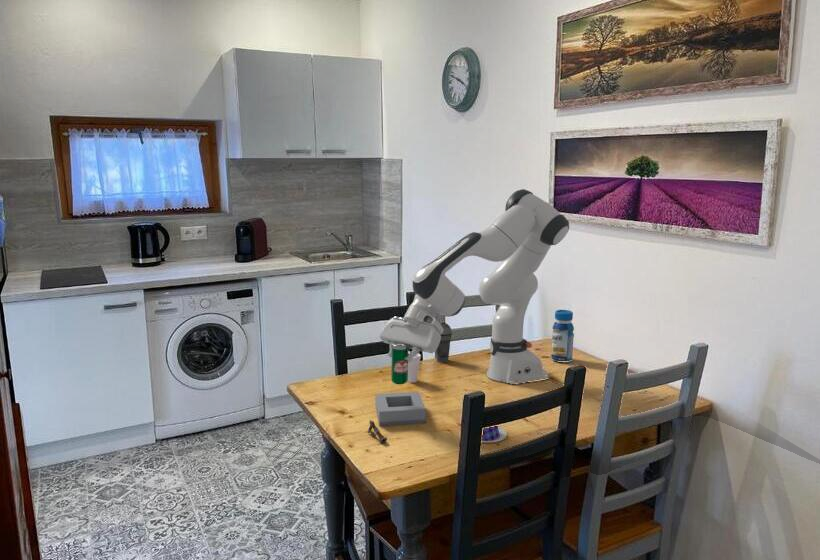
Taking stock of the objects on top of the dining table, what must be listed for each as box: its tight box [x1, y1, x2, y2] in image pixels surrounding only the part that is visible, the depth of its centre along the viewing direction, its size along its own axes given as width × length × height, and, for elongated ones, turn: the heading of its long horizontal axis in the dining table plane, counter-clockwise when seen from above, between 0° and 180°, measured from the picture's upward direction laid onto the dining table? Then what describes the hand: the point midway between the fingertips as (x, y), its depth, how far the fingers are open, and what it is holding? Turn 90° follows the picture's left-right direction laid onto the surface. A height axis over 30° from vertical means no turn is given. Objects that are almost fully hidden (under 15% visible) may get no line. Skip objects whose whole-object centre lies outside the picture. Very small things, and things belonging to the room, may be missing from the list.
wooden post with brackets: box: [367, 419, 388, 444], centre depth 172 cm, size 2×8×4 cm, turn 37°
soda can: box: [390, 343, 409, 385], centre depth 184 cm, size 5×5×12 cm
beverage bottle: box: [550, 309, 575, 361], centre depth 237 cm, size 8×8×20 cm
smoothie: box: [406, 352, 422, 384], centre depth 215 cm, size 6×6×14 cm
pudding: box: [481, 425, 508, 443], centre depth 173 cm, size 12×12×5 cm
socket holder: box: [374, 391, 427, 427], centre depth 187 cm, size 14×14×4 cm
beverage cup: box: [435, 315, 453, 364], centre depth 236 cm, size 7×7×20 cm
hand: (398, 358), depth 183 cm, fingers closed on soda can, 5 cm apart
